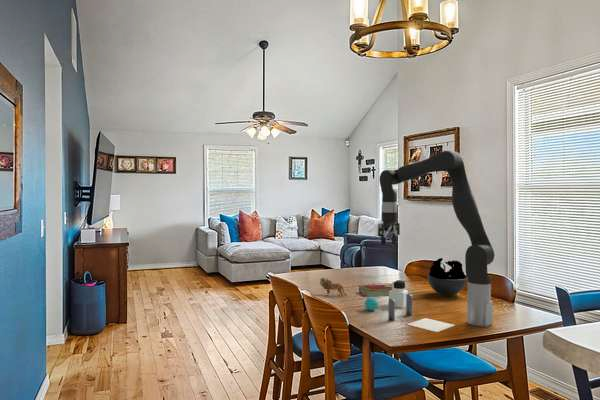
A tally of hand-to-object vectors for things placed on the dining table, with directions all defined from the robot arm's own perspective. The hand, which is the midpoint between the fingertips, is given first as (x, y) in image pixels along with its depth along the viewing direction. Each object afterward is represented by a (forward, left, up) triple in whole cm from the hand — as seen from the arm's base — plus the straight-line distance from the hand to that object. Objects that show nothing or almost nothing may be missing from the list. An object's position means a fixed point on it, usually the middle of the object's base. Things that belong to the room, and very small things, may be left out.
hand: (388, 244), depth 227 cm
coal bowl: (-9, -39, -29) cm, 49 cm away
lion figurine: (+30, +7, -29) cm, 43 cm away
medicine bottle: (-5, -1, -29) cm, 30 cm away
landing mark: (-33, +16, -29) cm, 47 cm away
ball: (-2, +16, -26) cm, 31 cm away
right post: (-18, +10, -29) cm, 36 cm away
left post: (-18, +23, -29) cm, 41 cm away
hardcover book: (+17, -17, -30) cm, 38 cm away
